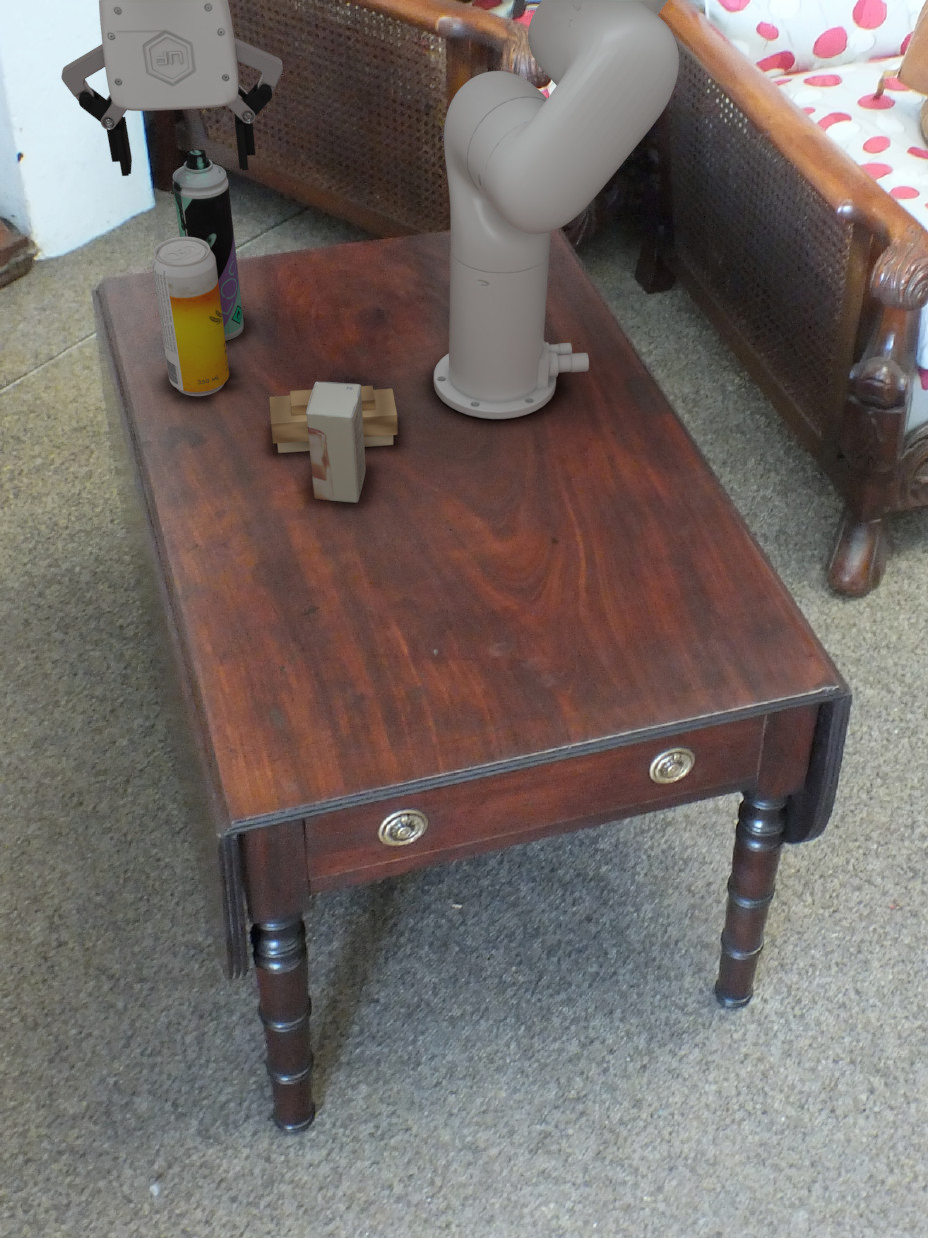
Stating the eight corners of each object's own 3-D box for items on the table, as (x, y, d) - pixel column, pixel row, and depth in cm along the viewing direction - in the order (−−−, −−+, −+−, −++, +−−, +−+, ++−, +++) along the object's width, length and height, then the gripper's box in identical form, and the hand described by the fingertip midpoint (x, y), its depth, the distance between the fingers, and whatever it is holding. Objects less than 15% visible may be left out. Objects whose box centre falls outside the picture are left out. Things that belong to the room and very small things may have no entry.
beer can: (242, 381, 142) (227, 250, 132) (195, 406, 139) (176, 273, 128) (204, 358, 145) (187, 228, 135) (158, 382, 142) (136, 250, 131)
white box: (321, 466, 132) (315, 378, 125) (367, 470, 132) (363, 382, 125) (311, 501, 129) (304, 412, 121) (357, 505, 128) (353, 416, 121)
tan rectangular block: (393, 419, 138) (392, 378, 134) (397, 446, 135) (396, 404, 131) (272, 428, 136) (268, 386, 133) (274, 455, 133) (269, 412, 130)
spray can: (222, 347, 147) (200, 169, 133) (182, 332, 149) (156, 155, 135) (254, 324, 150) (236, 148, 136) (214, 309, 152) (193, 134, 138)
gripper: (35, -29, 100) (77, 192, 112) (275, -36, 102) (292, 181, 114) (43, -64, 105) (82, 150, 117) (271, -71, 107) (287, 141, 119)
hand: (185, 165), depth 115 cm, fingers open, 9 cm apart
